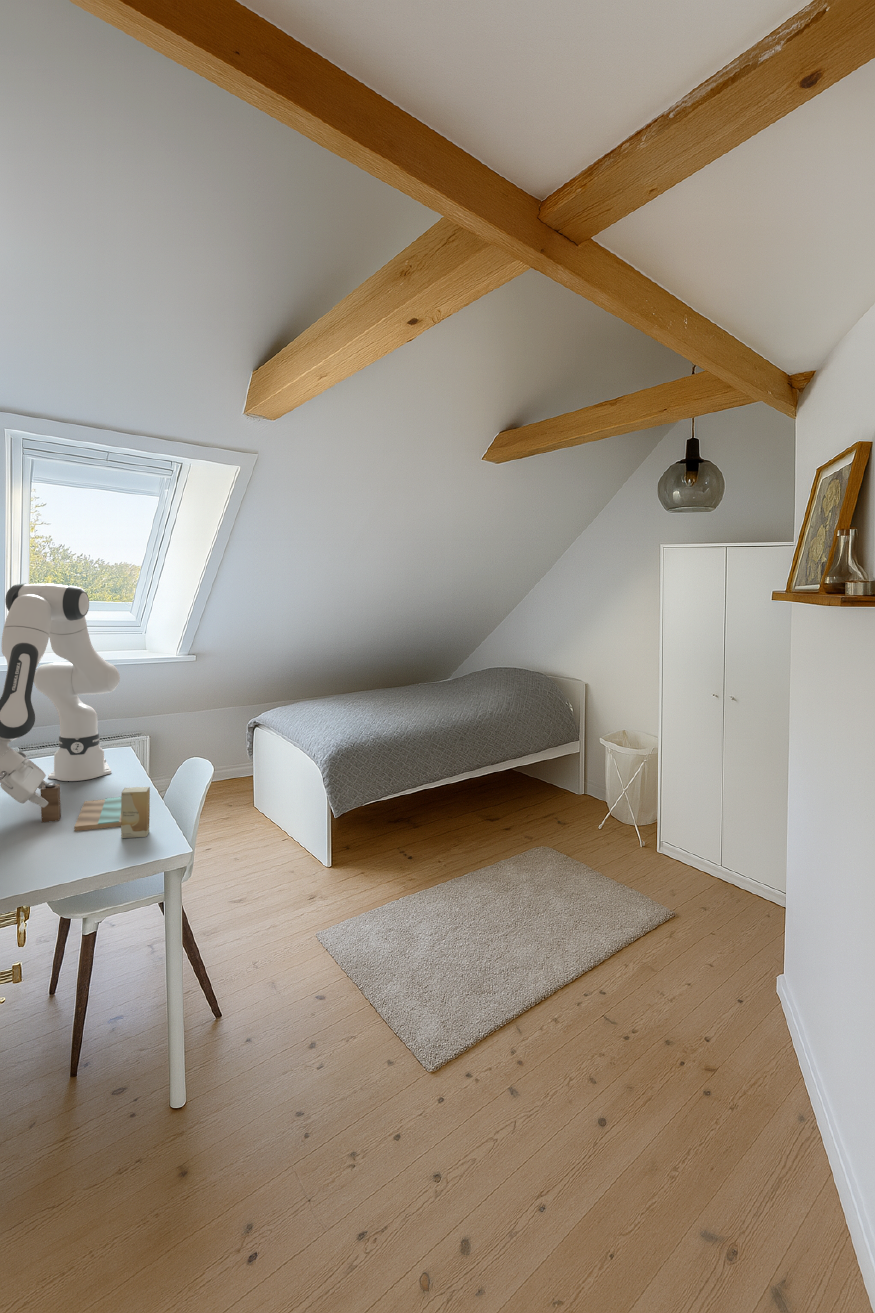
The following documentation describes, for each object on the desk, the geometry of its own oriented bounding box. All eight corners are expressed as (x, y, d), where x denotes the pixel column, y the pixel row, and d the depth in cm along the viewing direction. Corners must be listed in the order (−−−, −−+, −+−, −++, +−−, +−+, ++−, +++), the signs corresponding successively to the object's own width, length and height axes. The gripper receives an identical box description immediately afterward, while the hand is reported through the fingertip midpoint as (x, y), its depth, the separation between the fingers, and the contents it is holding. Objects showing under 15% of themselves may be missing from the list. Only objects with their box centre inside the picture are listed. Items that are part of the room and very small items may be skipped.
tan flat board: (84, 805, 186) (84, 800, 186) (140, 800, 192) (140, 795, 191) (74, 831, 166) (74, 825, 165) (137, 824, 171) (137, 819, 171)
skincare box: (120, 839, 161) (119, 792, 160) (124, 832, 165) (123, 787, 164) (148, 837, 163) (147, 790, 162) (150, 831, 167) (150, 786, 166)
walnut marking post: (44, 817, 175) (43, 782, 174) (60, 816, 176) (59, 781, 175) (41, 822, 171) (40, 786, 170) (58, 820, 173) (57, 785, 172)
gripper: (6, 768, 160) (52, 802, 164) (23, 750, 178) (64, 781, 183) (-14, 787, 158) (33, 821, 163) (5, 767, 177) (47, 797, 182)
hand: (49, 799), depth 173 cm, fingers open, 8 cm apart
